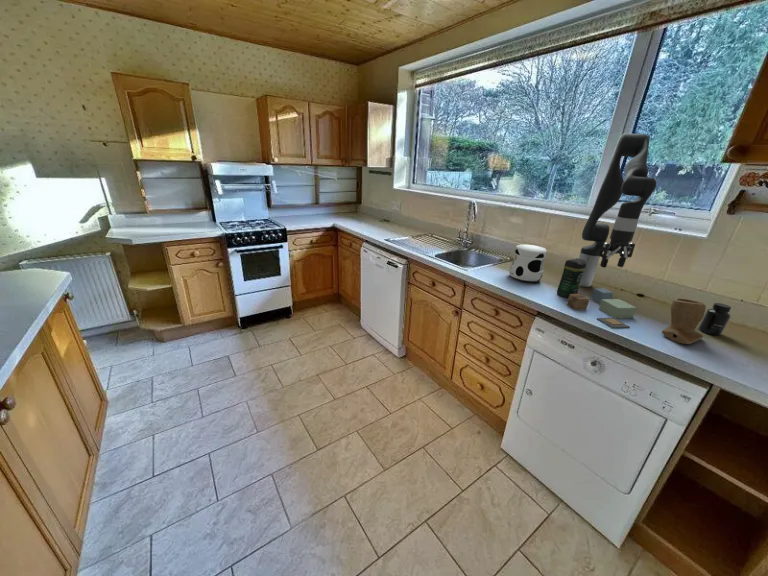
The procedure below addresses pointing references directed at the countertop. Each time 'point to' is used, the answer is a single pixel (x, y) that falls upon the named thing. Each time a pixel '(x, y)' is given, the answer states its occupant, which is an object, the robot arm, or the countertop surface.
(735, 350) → the countertop surface
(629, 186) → the robot arm
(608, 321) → the tile
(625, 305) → the sage base block
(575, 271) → the coffee jar
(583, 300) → the walnut cube
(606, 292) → the blue-grey cube
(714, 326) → the supplement bottle
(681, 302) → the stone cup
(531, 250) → the milk container
